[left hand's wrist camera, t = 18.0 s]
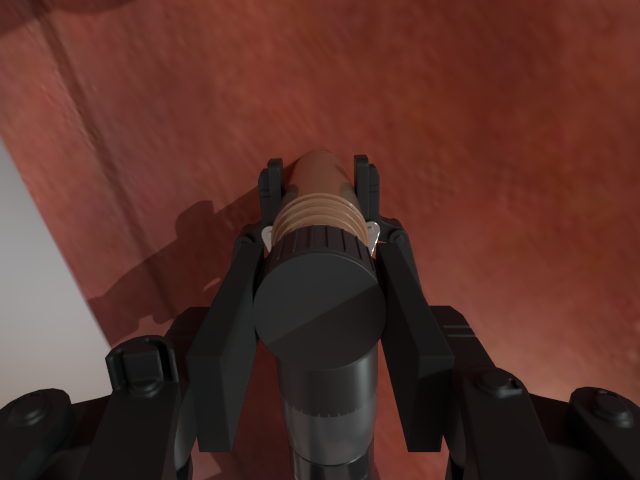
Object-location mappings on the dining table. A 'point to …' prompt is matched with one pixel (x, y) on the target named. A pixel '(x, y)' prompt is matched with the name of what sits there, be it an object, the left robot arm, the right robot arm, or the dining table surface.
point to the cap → (319, 299)
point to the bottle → (319, 198)
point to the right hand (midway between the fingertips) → (317, 159)
